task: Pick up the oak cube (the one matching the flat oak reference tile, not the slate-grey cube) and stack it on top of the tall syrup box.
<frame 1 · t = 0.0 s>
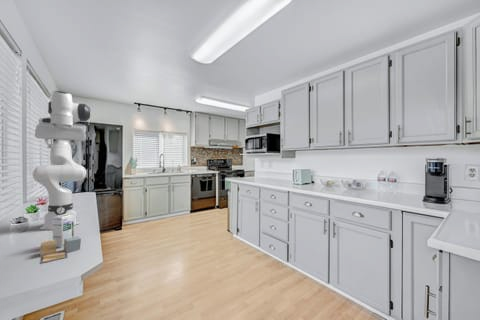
hand: (61, 148, 109), 48 cm above the worktop, fingers open, 8 cm apart
slate cube: (71, 249, 96), on the worktop, touching reference tile
syrup box: (63, 245, 102), on the worktop
reference tile: (54, 257, 89), on the worktop
oak cube: (48, 253, 93), on the worktop
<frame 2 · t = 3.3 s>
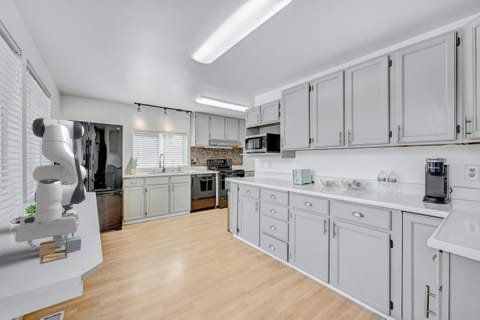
hand: (48, 246, 92), 3 cm above the worktop, fingers open, 8 cm apart
nothing on the worktop moved.
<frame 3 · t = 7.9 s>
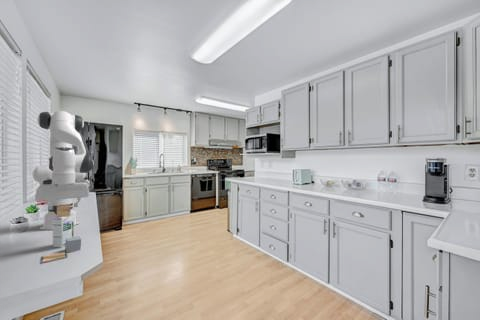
hand: (63, 208, 102), 18 cm above the worktop, fingers open, 8 cm apart
syrup box: (63, 245, 102), on the worktop, touching oak cube
oak cube: (63, 215, 102), point 14 cm above the worktop, touching syrup box
everything else where it was.
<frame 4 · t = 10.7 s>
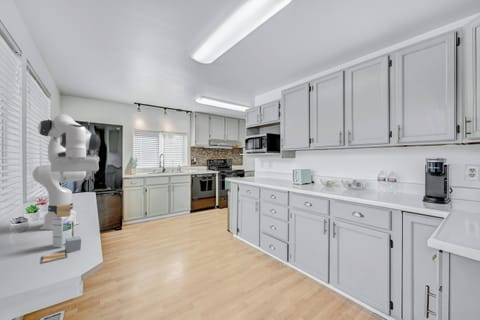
hand: (75, 180, 112), 31 cm above the worktop, fingers open, 8 cm apart
nothing on the worktop moved.
at the end: oak cube 0.1 cm off-centre on the syrup box, point 14.7 cm above the syrup box's base; syrup box tilted 0°; the gripper is holding nothing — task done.
